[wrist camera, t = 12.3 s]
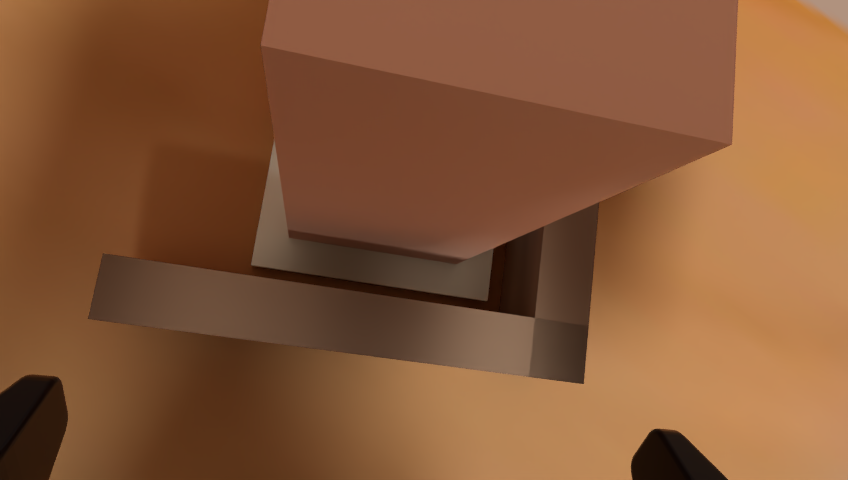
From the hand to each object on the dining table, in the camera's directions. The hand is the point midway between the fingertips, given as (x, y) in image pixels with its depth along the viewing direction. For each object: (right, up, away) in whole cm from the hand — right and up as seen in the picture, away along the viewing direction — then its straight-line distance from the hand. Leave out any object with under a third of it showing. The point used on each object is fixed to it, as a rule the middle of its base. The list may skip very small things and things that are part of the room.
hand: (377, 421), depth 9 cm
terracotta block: (0, +5, +9) cm, 10 cm away
